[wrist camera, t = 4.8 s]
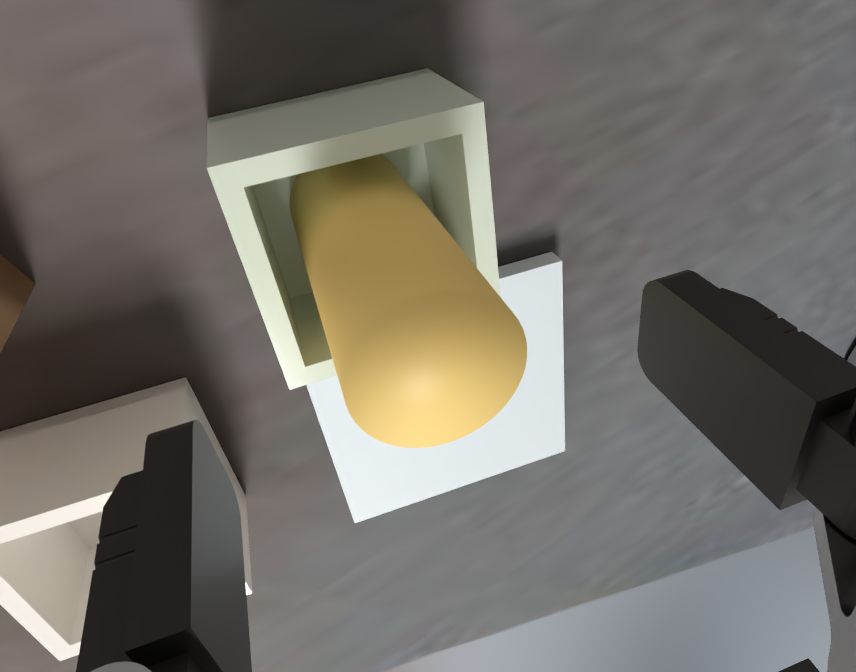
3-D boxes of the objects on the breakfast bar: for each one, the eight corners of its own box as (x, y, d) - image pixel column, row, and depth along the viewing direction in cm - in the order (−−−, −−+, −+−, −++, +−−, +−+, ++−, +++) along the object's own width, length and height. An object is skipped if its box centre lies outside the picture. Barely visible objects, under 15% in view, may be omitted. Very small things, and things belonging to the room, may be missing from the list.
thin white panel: (551, 251, 22) (562, 260, 22) (557, 439, 28) (565, 450, 27) (288, 327, 21) (290, 339, 20) (351, 509, 27) (354, 523, 26)
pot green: (427, 68, 17) (483, 102, 14) (453, 259, 21) (503, 325, 18) (207, 118, 16) (206, 168, 13) (275, 309, 20) (289, 389, 17)
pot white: (186, 376, 21) (180, 469, 17) (245, 496, 24) (251, 593, 21) (-12, 434, 20) (-61, 546, 16) (82, 549, 23) (59, 661, 20)
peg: (395, 132, 18) (522, 265, 10) (414, 241, 20) (531, 415, 13) (274, 161, 17) (321, 323, 10) (307, 270, 19) (365, 470, 12)
